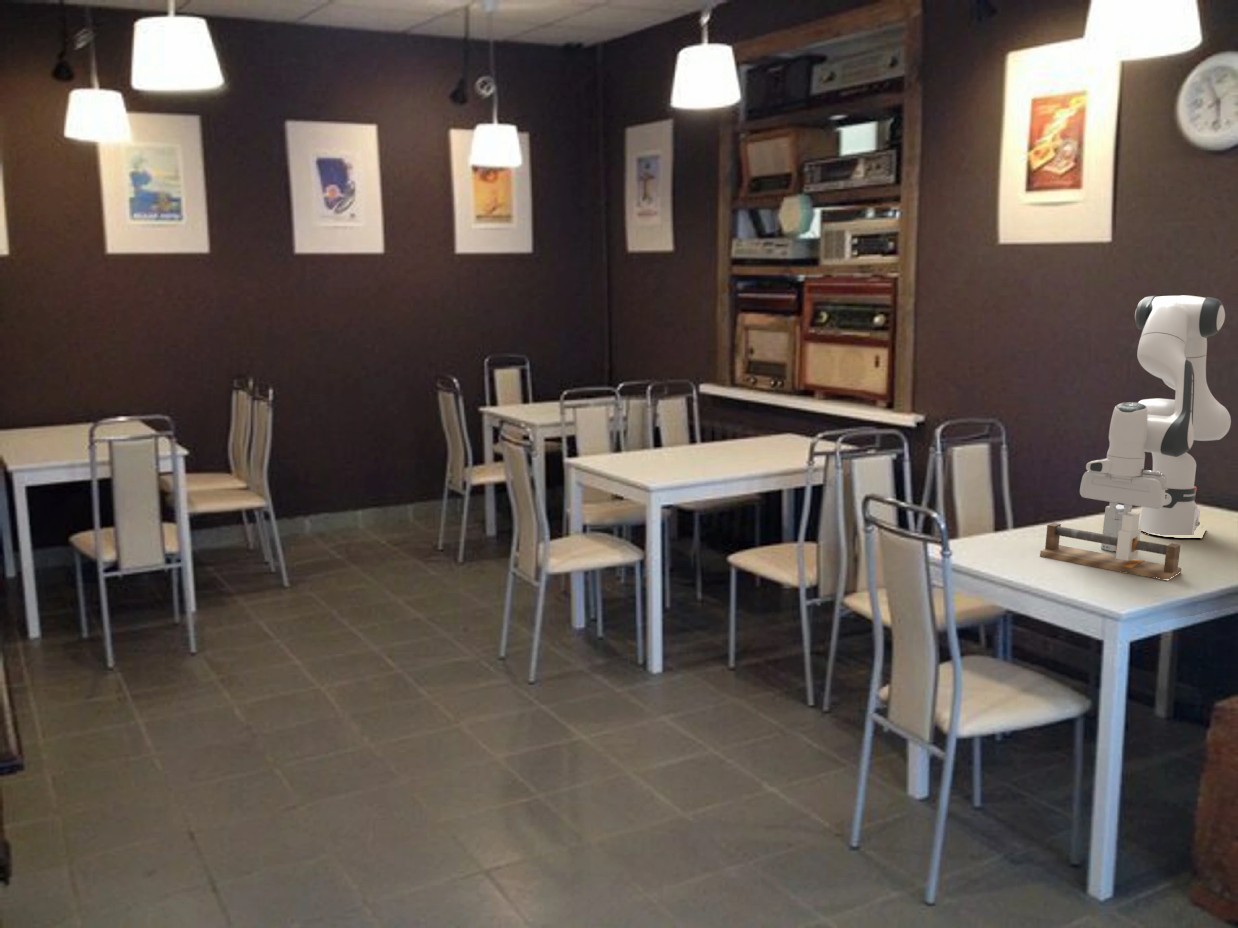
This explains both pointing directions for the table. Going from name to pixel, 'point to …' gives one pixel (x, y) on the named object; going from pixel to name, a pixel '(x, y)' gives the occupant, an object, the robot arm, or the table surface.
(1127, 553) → the collar
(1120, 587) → the table surface
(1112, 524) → the skincare box
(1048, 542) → the pipe stand
